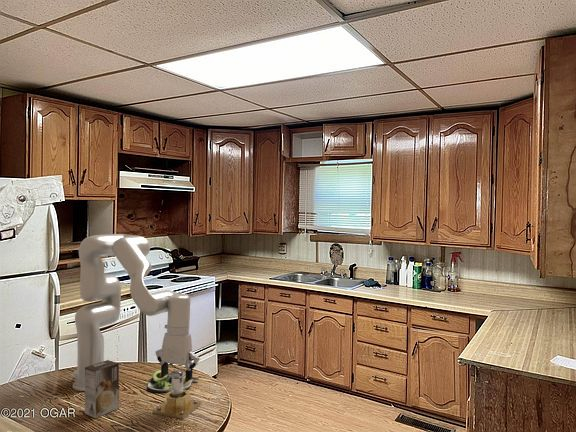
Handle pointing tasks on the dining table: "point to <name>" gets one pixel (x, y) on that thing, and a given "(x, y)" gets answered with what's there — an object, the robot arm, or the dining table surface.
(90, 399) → the coffee box
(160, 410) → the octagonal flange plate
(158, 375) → the avocado toast plate
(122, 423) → the dining table surface
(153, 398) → the dining table surface
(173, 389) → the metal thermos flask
